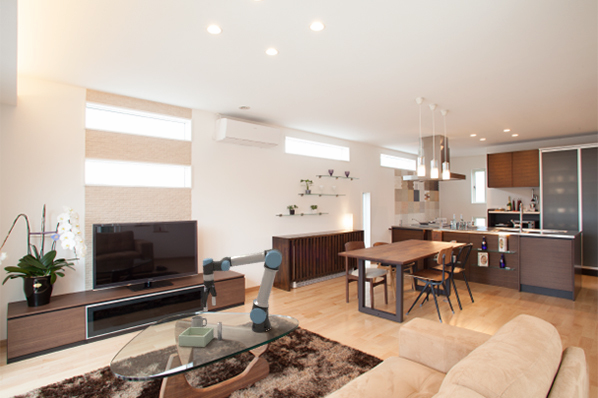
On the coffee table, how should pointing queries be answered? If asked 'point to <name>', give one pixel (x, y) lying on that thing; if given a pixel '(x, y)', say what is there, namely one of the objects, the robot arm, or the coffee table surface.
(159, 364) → the coffee table surface
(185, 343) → the box
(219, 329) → the peg
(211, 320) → the coffee table surface
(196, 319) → the mug
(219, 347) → the coffee table surface
